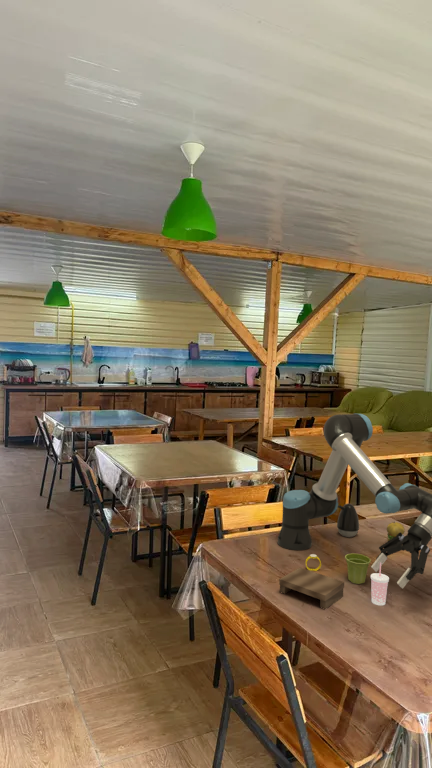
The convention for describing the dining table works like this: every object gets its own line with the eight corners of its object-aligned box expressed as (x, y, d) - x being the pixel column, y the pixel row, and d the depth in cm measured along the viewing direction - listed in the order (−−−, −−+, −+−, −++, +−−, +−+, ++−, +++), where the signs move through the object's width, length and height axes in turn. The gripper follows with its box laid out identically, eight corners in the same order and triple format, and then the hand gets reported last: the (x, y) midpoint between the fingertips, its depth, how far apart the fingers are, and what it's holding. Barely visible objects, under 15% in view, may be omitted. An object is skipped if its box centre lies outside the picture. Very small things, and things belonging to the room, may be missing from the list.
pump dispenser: (333, 531, 248) (334, 500, 248) (354, 531, 249) (355, 500, 248) (340, 539, 238) (341, 506, 237) (361, 539, 239) (363, 506, 238)
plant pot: (370, 577, 197) (371, 555, 197) (369, 588, 188) (370, 564, 188) (345, 573, 200) (346, 551, 200) (342, 583, 191) (343, 560, 191)
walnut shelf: (278, 592, 182) (279, 579, 182) (299, 580, 193) (299, 567, 193) (324, 610, 171) (325, 595, 170) (343, 595, 181) (344, 581, 181)
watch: (306, 572, 201) (305, 557, 201) (305, 569, 204) (304, 554, 204) (321, 571, 201) (321, 556, 201) (320, 568, 204) (319, 553, 204)
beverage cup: (385, 608, 173) (387, 567, 172) (367, 603, 176) (369, 563, 176) (389, 601, 178) (391, 561, 178) (371, 596, 182) (374, 557, 181)
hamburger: (405, 545, 232) (406, 519, 232) (401, 550, 226) (403, 523, 225) (388, 542, 236) (389, 516, 236) (383, 546, 230) (385, 520, 230)
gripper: (456, 549, 171) (418, 600, 166) (404, 525, 194) (369, 569, 189) (444, 535, 168) (405, 586, 164) (393, 512, 192) (358, 556, 187)
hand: (386, 577), depth 177 cm, fingers open, 13 cm apart
